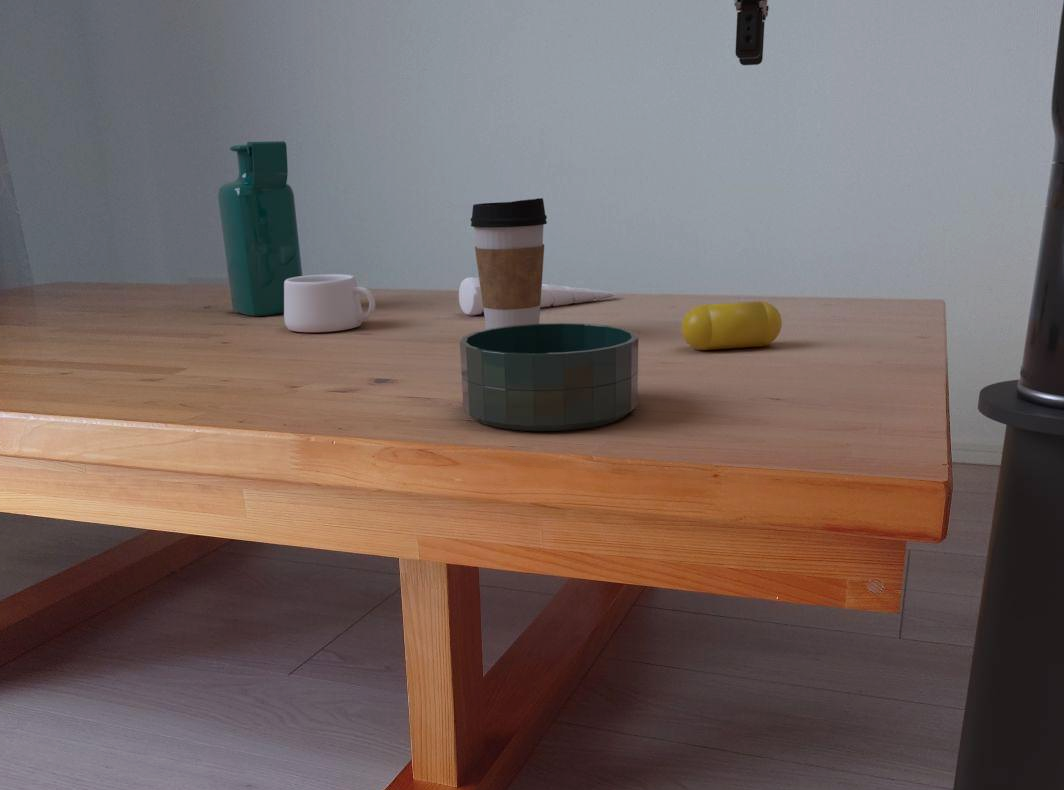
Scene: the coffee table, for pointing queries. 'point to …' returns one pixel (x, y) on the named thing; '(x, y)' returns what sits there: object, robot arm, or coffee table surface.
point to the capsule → (731, 325)
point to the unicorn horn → (549, 296)
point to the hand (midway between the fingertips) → (749, 61)
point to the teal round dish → (549, 375)
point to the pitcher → (260, 229)
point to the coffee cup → (510, 260)
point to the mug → (324, 303)
